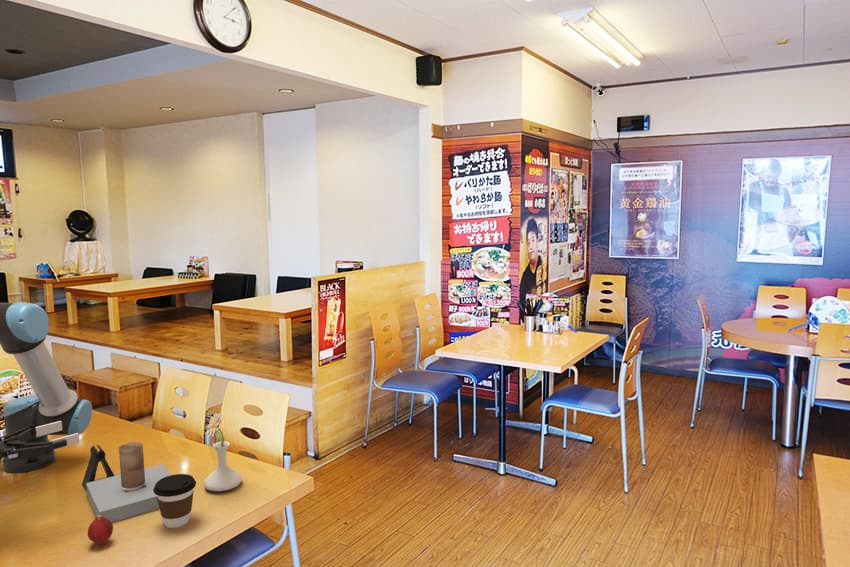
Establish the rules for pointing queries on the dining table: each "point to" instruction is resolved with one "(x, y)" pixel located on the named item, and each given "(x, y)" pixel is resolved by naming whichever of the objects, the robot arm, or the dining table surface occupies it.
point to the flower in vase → (220, 461)
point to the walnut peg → (132, 466)
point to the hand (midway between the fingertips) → (70, 431)
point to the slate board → (125, 495)
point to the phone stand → (93, 464)
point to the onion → (100, 530)
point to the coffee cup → (175, 499)
